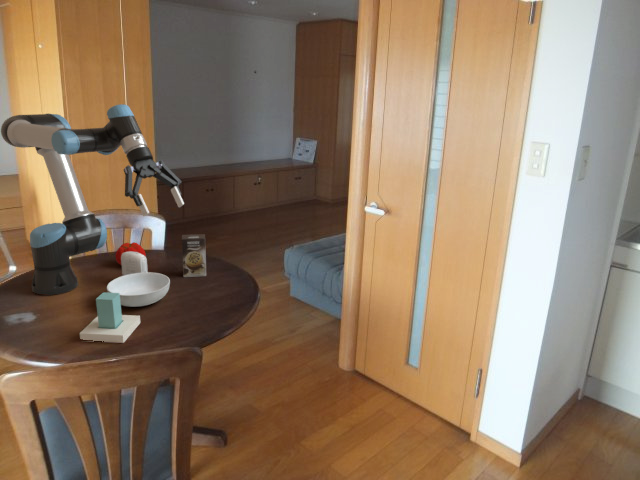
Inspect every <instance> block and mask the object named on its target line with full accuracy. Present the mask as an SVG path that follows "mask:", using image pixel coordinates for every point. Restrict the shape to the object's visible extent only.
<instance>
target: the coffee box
mask: <svg viewBox="0 0 640 480" xmlns="http://www.w3.org/2000/svg"><path fill="white" fill-rule="evenodd" d="M181 243H182V244H181V249H182V269H183V270H182V273H183V274H182V276H183V278H192V277H194V278H197V277H198V278H199V277H207V257H206V255H207V253H206V234H205V233H203V234H202V233H201V234H182V235H181Z"/></svg>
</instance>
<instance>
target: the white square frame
mask: <svg viewBox="0 0 640 480" xmlns="http://www.w3.org/2000/svg"><path fill="white" fill-rule="evenodd" d="M140 324H141V315H134V314H133V315H129V314H122V323H121V324H120V325H119V326H118V328H117V329H104V328H99V322H98V315H97V316H96V317H95V318H94V319H93V320H91V322H90V323H89V324H88V325H87V326H85V327H84V329H83V330H81V331H80V332H79V338H80V339H83V340H93V341H92V342H94V341H102V343H121V344H124V343H125V342H126V341H127V339H128V338H129V337H131V335H132V334H133V332H134V331H135V330H136V329H137V327H138V326H139V325H140ZM80 339H79V340H80ZM103 341H104V342H103Z"/></svg>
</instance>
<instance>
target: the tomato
mask: <svg viewBox="0 0 640 480" xmlns="http://www.w3.org/2000/svg"><path fill="white" fill-rule="evenodd" d="M128 251H132V252H137V253H140V254H142V255H144V256H145V257H146V258H147V254H146V251H145V249H144V248H143V247H142V246H141V245H140V244H139V243H138V242H132V243H131V242H130V243H129V242H124V243H123V244H121V245H120V246H119V247H118V248H117V250H116V252H115V261H116V263H118V265H120V266H122V265H121V255H122V253H125V252H128Z"/></svg>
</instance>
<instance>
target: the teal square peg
mask: <svg viewBox="0 0 640 480" xmlns="http://www.w3.org/2000/svg"><path fill="white" fill-rule="evenodd" d="M95 306H96V313H97V314H96V315H97V316H98V322H99V328H104V329H117V328H118V326H119V325H120V324H121V323H122V315H123V313H122V305H121V303H120V293H108V292H107V291H106V292H102V293H101V294H100V295H99V296H98V297H96V299H95Z"/></svg>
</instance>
